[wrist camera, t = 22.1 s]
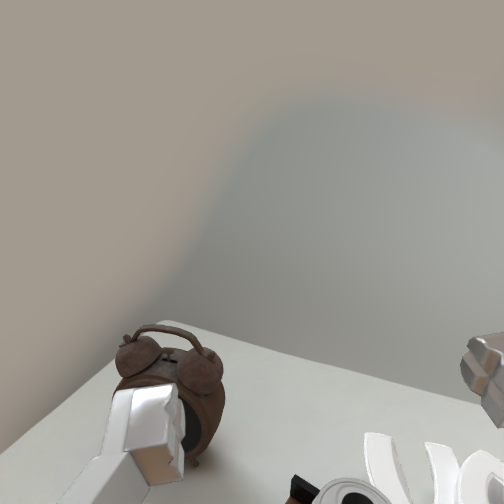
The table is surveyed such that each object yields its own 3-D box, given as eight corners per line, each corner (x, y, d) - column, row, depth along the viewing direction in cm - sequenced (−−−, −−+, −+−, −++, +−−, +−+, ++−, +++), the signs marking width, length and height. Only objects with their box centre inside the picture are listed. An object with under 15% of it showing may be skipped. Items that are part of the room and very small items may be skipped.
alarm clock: (111, 461, 48) (92, 336, 41) (138, 420, 55) (126, 306, 48) (213, 485, 46) (212, 356, 39) (228, 439, 52) (230, 321, 45)
